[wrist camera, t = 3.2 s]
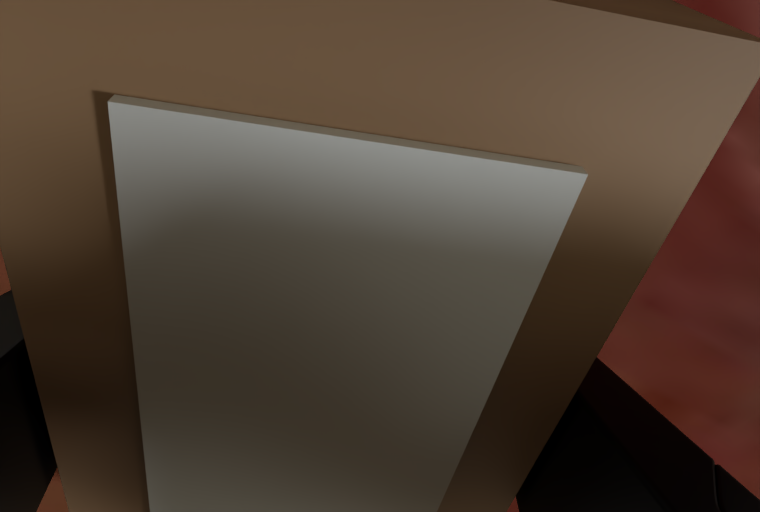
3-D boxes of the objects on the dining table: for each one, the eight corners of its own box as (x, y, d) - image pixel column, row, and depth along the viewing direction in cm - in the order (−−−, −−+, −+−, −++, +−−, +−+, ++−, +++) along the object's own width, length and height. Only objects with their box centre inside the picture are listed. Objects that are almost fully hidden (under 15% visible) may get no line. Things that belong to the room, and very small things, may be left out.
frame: (424, 445, 13) (448, 622, 10) (153, 426, 12) (89, 615, 9) (602, -29, 7) (791, 51, 4) (108, -134, 6) (-113, -128, 3)
